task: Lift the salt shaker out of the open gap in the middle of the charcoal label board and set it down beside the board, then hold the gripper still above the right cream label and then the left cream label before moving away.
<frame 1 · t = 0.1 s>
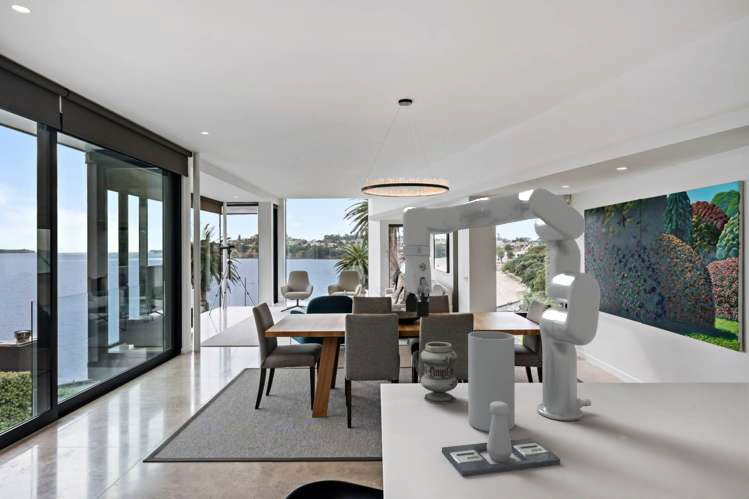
hand: (416, 314, 124), 31 cm above the kitchen island, tool pointing down, fingers open, 9 cm apart
apothecary jar: (439, 399, 148), on the kitchen island
salt shaker: (499, 459, 106), resting in label board
label board: (499, 458, 106), on the kitchen island
cylinder vase: (491, 425, 126), on the kitchen island
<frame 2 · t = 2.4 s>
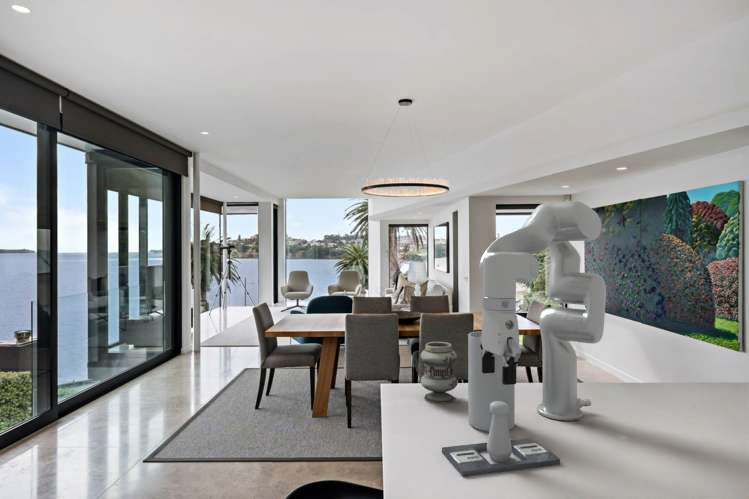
hand: (498, 378, 105), 19 cm above the kitchen island, tool pointing down, fingers open, 9 cm apart
nothing on the kitchen island moved.
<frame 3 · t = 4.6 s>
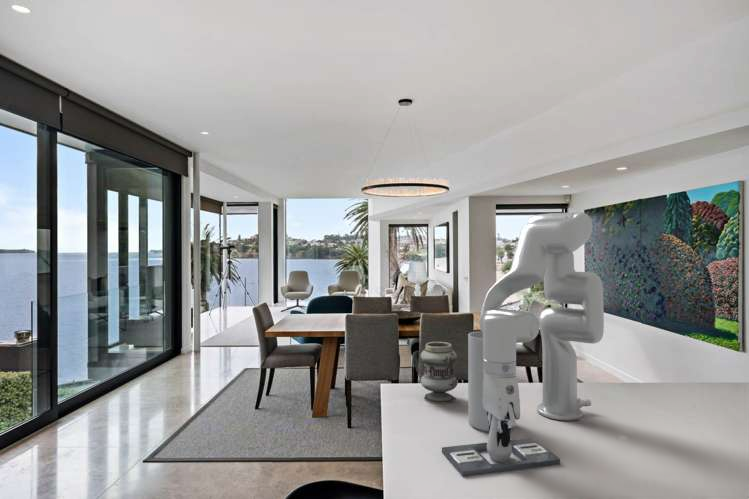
hand: (499, 444, 106), 3 cm above the kitchen island, tool pointing down, fingers closed on salt shaker, 3 cm apart
salt shaker: (499, 459, 106), resting in label board, touching gripper
everything else where it was.
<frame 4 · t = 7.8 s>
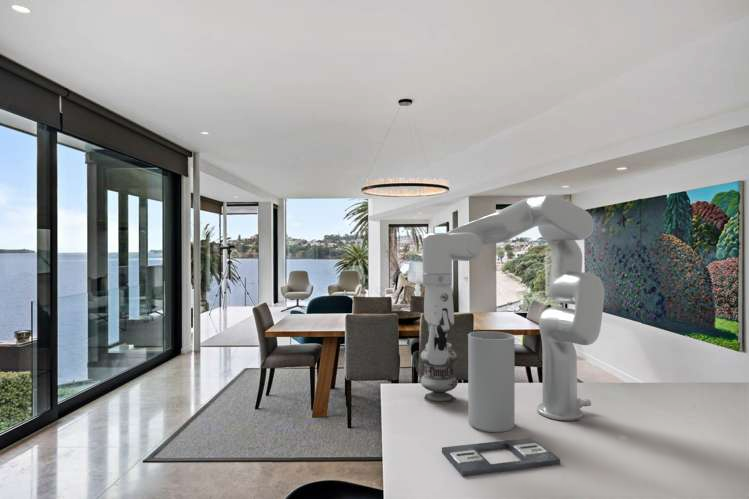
hand: (437, 350, 117), 23 cm above the kitchen island, tool pointing down, fingers closed on salt shaker, 3 cm apart
salt shaker: (437, 363, 117), point 19 cm above the kitchen island, touching gripper
everything else where it was.
when the fingers open (5 cm above the kitchen island, at t = 11.4 s): salt shaker drops 1 cm, on the kitchen island.
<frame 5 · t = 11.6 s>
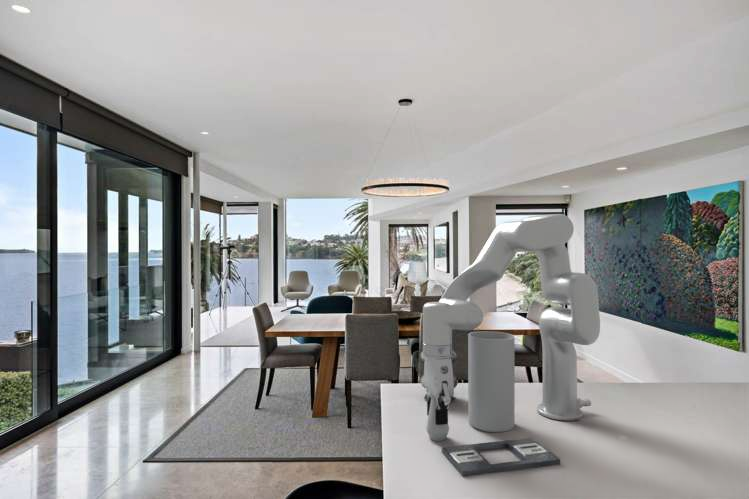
hand: (437, 419, 117), 5 cm above the kitchen island, tool pointing down, fingers open, 5 cm apart
salt shaker: (437, 438, 117), on the kitchen island
everything else where it was.
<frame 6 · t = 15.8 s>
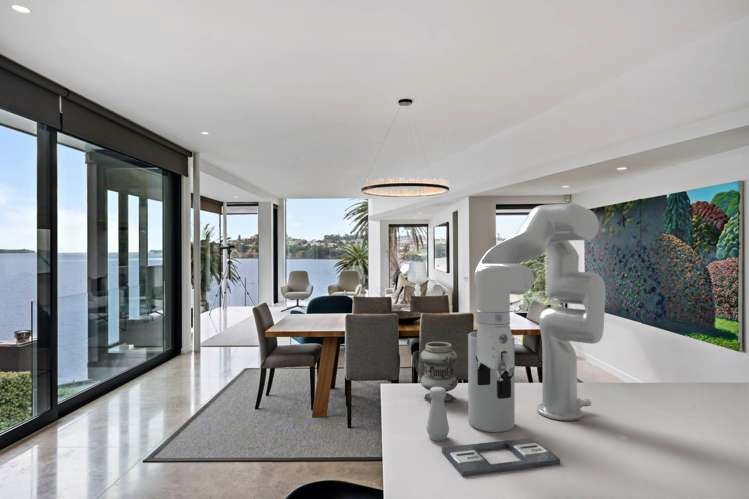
hand: (493, 391, 105), 16 cm above the kitchen island, tool pointing down, fingers open, 9 cm apart
nothing on the kitchen island moved.
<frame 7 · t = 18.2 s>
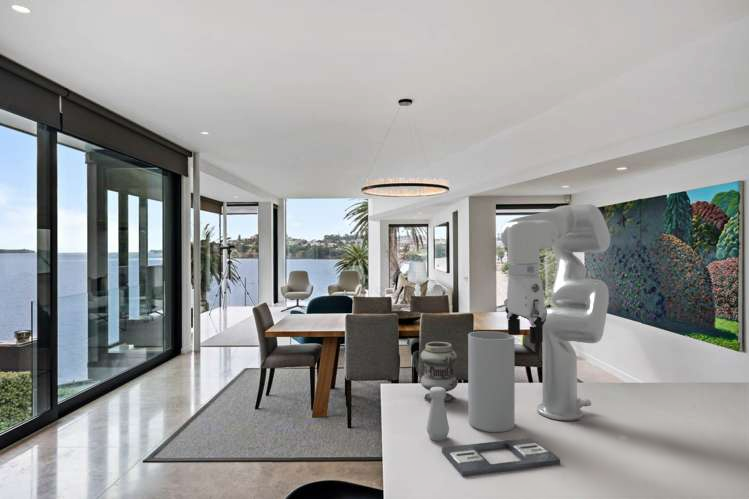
hand: (524, 338, 113), 27 cm above the kitchen island, tool pointing down, fingers open, 9 cm apart
nothing on the kitchen island moved.
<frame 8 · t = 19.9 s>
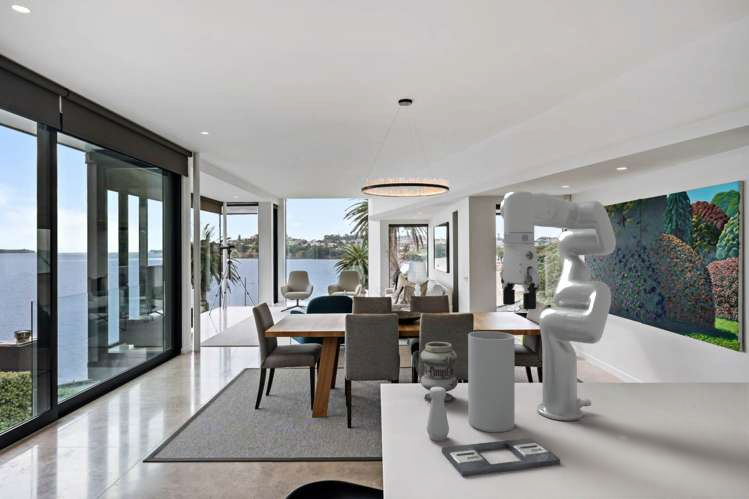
hand: (518, 306, 116), 34 cm above the kitchen island, tool pointing down, fingers open, 9 cm apart
nothing on the kitchen island moved.
at the end: salt shaker inside the target area (0.2 cm from its centre), on the kitchen island; salt shaker tilted 0°; the gripper is holding nothing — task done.
